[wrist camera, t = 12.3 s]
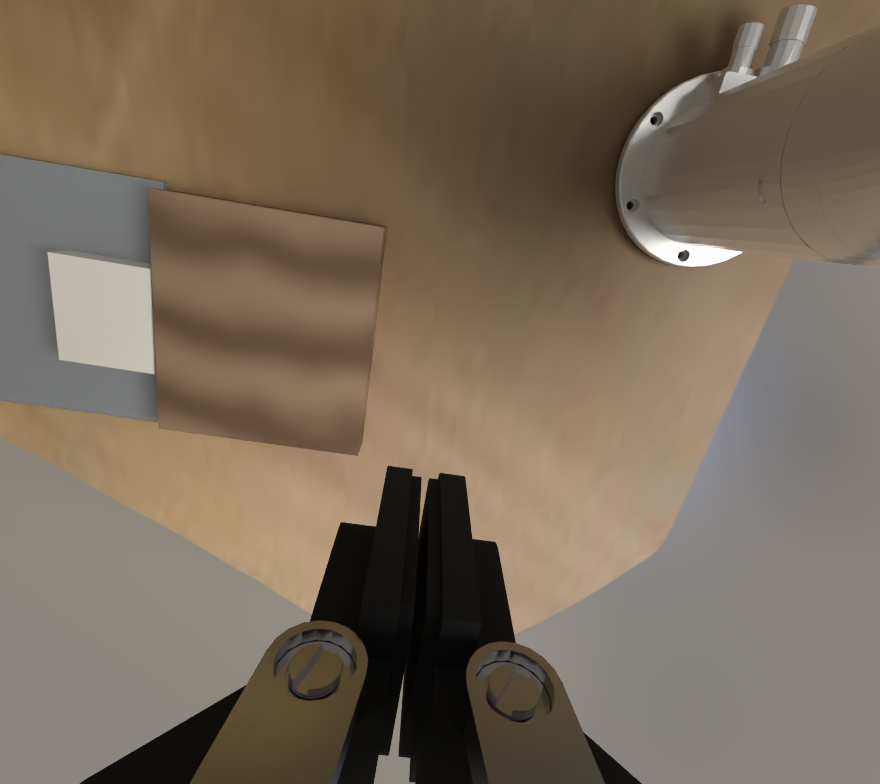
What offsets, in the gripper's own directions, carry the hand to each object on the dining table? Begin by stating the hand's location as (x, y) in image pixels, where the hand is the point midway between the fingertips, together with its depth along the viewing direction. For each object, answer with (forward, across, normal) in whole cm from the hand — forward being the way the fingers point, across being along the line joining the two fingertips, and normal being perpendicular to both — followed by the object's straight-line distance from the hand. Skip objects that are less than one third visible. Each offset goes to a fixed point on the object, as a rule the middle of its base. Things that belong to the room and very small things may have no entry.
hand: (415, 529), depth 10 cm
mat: (+29, +29, +4) cm, 41 cm away
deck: (+29, +12, +4) cm, 32 cm away
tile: (+29, +24, +4) cm, 37 cm away
